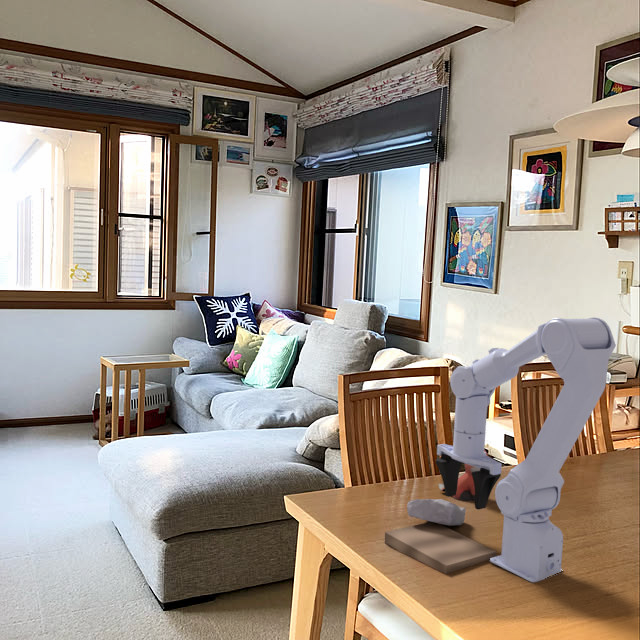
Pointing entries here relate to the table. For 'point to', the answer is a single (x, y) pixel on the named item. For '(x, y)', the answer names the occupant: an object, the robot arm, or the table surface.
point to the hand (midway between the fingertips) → (465, 501)
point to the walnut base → (438, 547)
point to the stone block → (436, 511)
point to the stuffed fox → (465, 484)
